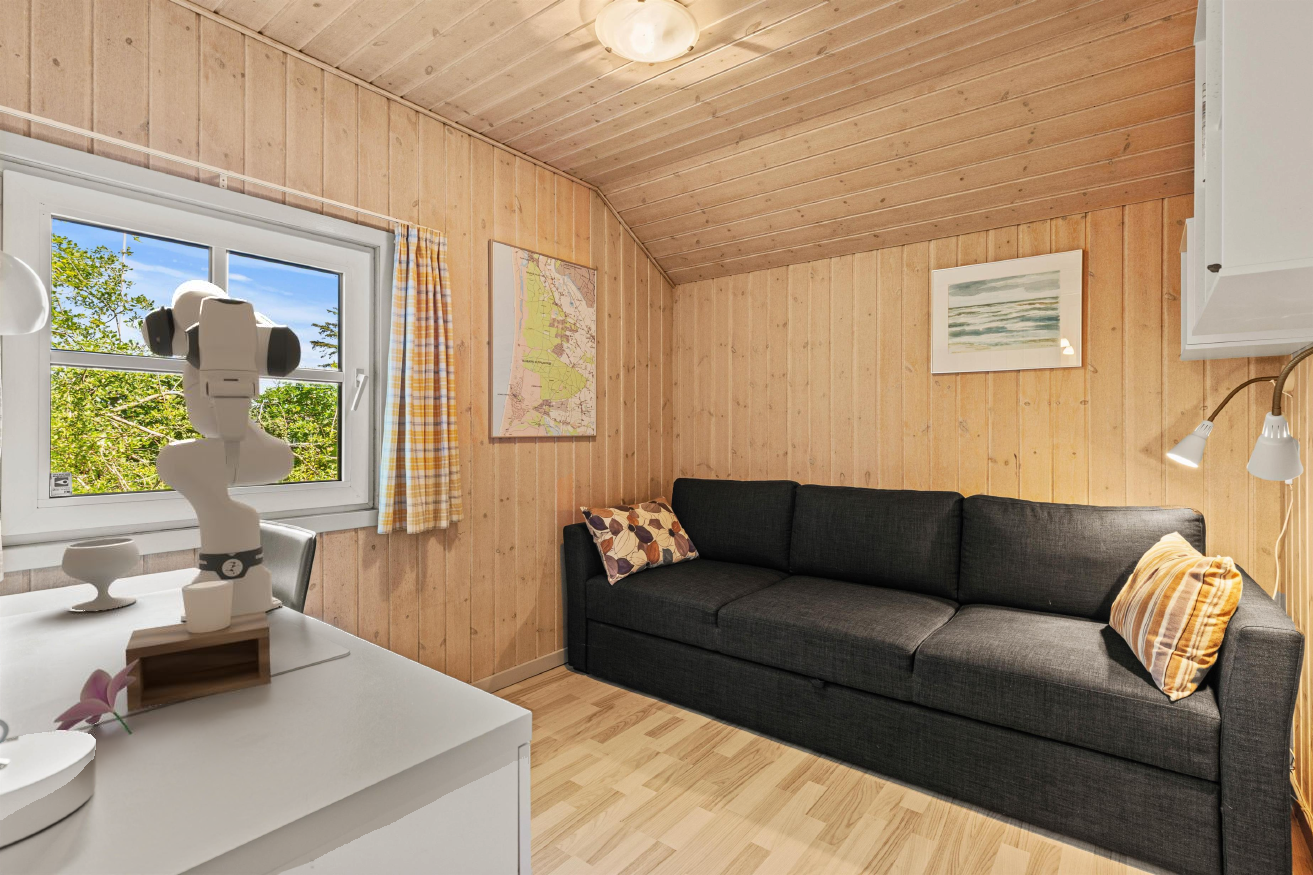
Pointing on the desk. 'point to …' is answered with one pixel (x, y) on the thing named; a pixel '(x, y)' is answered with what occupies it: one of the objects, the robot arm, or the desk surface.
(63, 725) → the lily
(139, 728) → the desk surface
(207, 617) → the cream tapered cup
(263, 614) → the walnut shelf
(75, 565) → the chalice
